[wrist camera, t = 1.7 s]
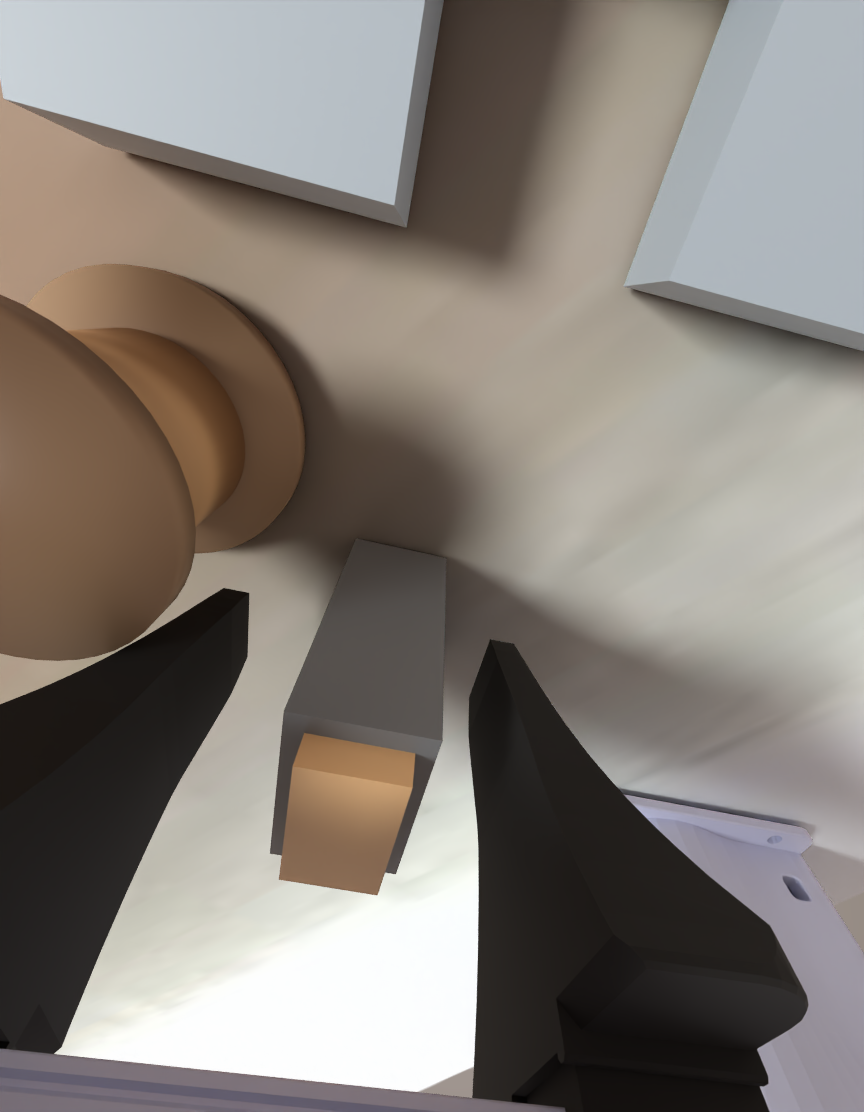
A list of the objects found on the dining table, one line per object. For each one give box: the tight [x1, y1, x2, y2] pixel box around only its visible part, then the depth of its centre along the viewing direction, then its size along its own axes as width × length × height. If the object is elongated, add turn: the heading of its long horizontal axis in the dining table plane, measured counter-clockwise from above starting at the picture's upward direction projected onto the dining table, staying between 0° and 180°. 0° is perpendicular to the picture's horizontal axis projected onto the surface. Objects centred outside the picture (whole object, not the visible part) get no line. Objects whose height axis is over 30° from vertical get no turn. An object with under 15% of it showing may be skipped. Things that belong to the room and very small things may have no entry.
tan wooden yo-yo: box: [0, 264, 305, 661], centre depth 9 cm, size 6×6×5 cm
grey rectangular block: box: [270, 538, 446, 895], centre depth 10 cm, size 2×4×7 cm, turn 167°
